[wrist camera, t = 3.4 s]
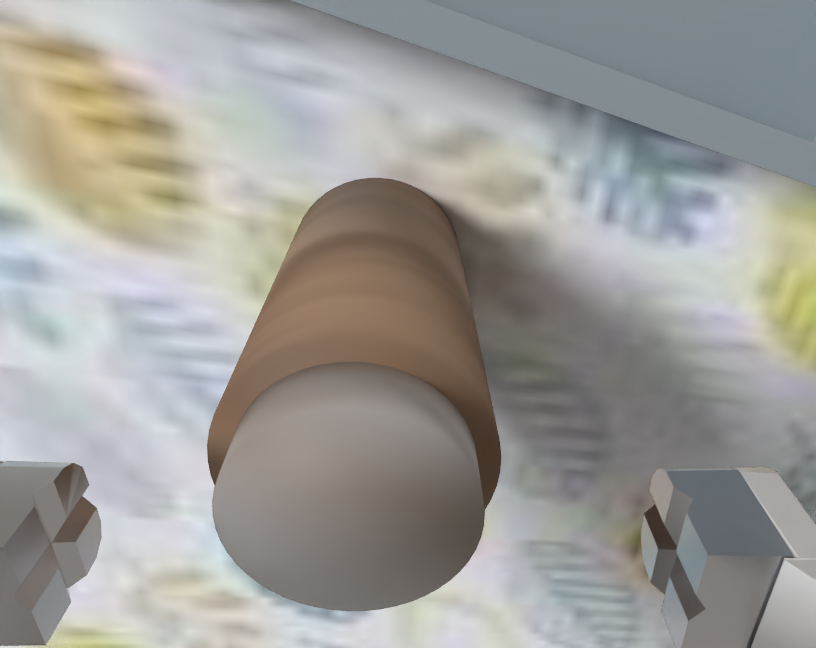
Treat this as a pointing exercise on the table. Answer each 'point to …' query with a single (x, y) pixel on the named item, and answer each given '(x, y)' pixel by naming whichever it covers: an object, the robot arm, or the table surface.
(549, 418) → the table surface
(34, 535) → the robot arm
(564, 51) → the tray
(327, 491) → the shaker
